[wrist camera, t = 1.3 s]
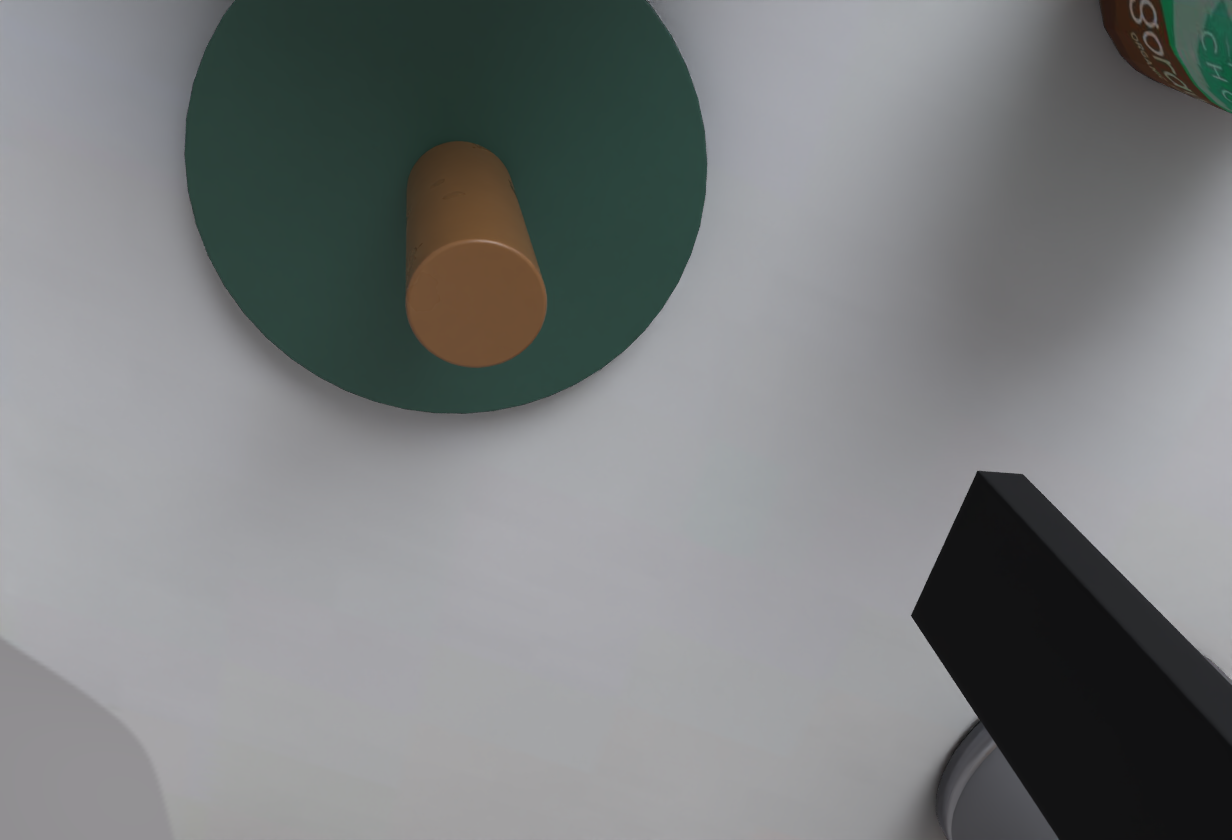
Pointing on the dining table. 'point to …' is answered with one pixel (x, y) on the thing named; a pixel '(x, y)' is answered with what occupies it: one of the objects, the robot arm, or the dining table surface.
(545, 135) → the canister lid
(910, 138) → the dining table surface
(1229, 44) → the food container
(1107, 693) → the robot arm
